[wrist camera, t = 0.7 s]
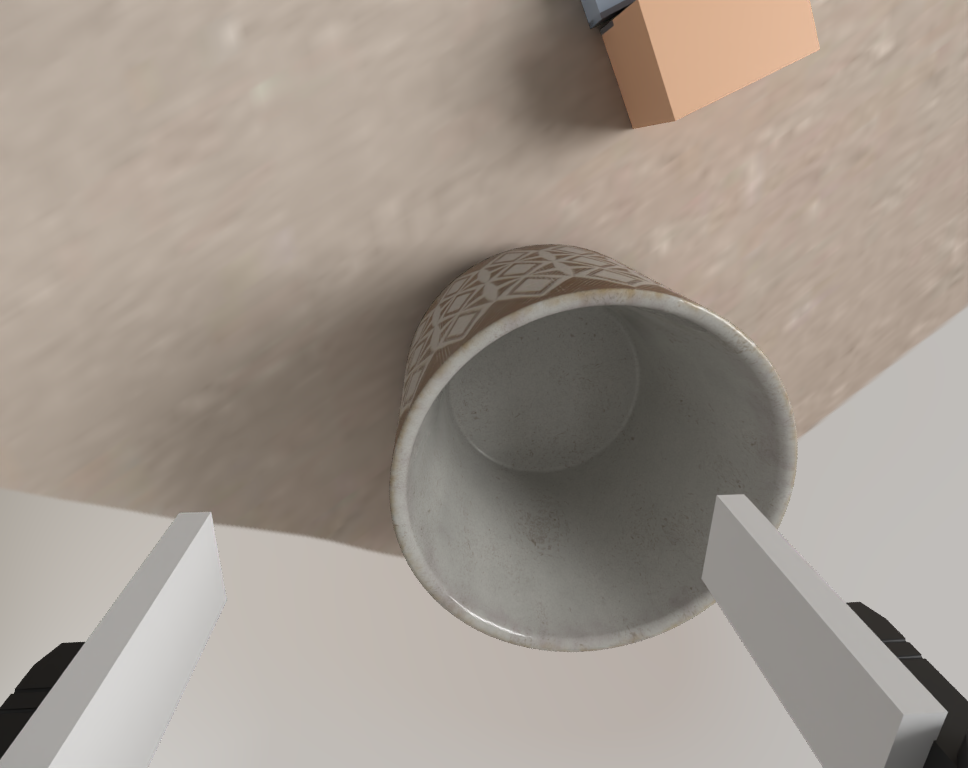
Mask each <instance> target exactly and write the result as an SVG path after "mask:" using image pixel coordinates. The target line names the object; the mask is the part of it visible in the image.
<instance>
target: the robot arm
mask: <svg viewBox="0 0 968 768" xmlns="http://www.w3.org/2000/svg"><path fill="white" fill-rule="evenodd" d="M701 579H702V580H703V582H704V583H705V585H706V586H707V588H708V590H709V591H710V593H711V594H712V596H713V597H714V599H715V600H716V602H717V603H718V605H719V607H720V608H721V610H722V611H723V613H724V614H725V616H726V617H727V619H728V621H729V622H730V624H731V625H732V627H733V628H734V630H735V631H736V633H737V635H738V636H739V638H740V639H741V641H742V642H743V643H744V645H745V647H746V649H747V650H748V652H749V653H750V655H751V656H752V658H753V659H754V661H755V663H756V664H757V666H758V667H759V669H760V670H761V672H762V673H763V675H764V676H765V678H766V680H767V681H768V683H769V684H770V686H771V687H772V689H773V690H774V692H775V694H776V695H777V697H778V698H779V700H780V701H781V703H782V704H783V706H784V708H785V709H786V711H787V712H788V714H789V715H790V717H791V718H792V720H793V722H794V723H795V724H796V726H797V728H798V729H799V731H800V732H801V734H802V735H803V737H804V739H805V740H806V742H807V743H808V745H809V746H810V748H811V750H812V751H813V752H814V754H815V756H816V757H817V759H818V760H819V762H820V763H821V765H822V767H823V768H968V701H967V700H966V699H965V698H964V697H963V696H962V695H961V694H960V693H959V692H958V691H957V690H956V689H955V688H954V687H953V686H952V685H951V684H950V683H949V682H948V681H947V680H946V679H945V678H944V677H943V676H942V675H941V674H940V673H939V672H938V671H937V670H936V669H935V668H934V667H933V666H932V665H931V664H930V663H929V662H928V661H927V660H926V659H923V658H922V656H921V654H920V653H919V652H918V651H917V650H916V649H915V648H914V647H913V646H912V645H911V644H910V643H909V642H906V641H905V638H904V637H903V635H902V634H900V632H899V631H897V629H896V628H894V626H893V625H892V624H890V622H889V621H888V620H886V618H884V617H882V616H881V615H879V614H878V613H876V612H874V611H873V610H871V609H870V608H869V607H867V606H865V605H864V604H862V603H861V602H851V603H845V602H844V601H843V600H842V598H841V597H840V596H839V595H838V594H837V593H836V592H835V591H834V590H833V589H832V588H831V587H830V586H829V584H828V583H826V581H825V580H824V579H823V578H822V577H821V576H820V575H819V574H818V573H817V572H816V571H815V570H814V568H813V567H812V566H811V565H810V564H809V563H808V562H807V561H806V560H805V559H804V558H803V557H802V556H801V555H800V553H799V552H798V551H797V550H796V549H795V548H794V547H793V546H792V545H791V544H790V543H789V542H788V541H787V540H786V539H785V538H784V536H783V535H782V534H781V533H780V532H779V531H778V530H777V529H776V528H775V527H774V526H773V525H772V524H771V523H770V521H769V520H768V519H767V518H766V517H765V516H764V515H763V514H762V513H761V512H760V511H759V510H758V509H757V508H756V506H755V505H754V504H753V503H752V502H751V501H750V500H749V499H748V498H747V497H746V496H745V495H744V494H736V495H717V496H716V502H715V507H714V512H713V518H712V523H711V529H710V534H709V540H708V545H707V551H706V556H705V562H704V567H703V573H702V578H701ZM226 601H227V597H226V591H225V586H224V580H223V575H222V569H221V563H220V558H219V552H218V547H217V541H216V536H215V530H214V525H213V519H212V514H211V512H187V513H179V514H178V515H177V517H176V518H175V519H174V521H173V522H172V524H171V525H170V526H169V528H168V529H167V530H166V532H165V533H164V535H163V536H162V537H161V539H160V540H159V541H158V543H157V544H156V546H155V547H154V548H153V550H152V551H151V553H150V554H149V555H148V557H147V558H146V559H145V561H144V562H143V564H142V565H141V566H140V568H139V569H138V571H137V572H136V573H135V575H134V576H133V577H132V579H131V580H130V581H129V583H128V584H127V586H126V587H125V588H124V590H123V591H122V593H121V594H120V595H119V597H118V598H117V600H116V601H115V602H114V604H113V605H112V606H111V608H110V609H109V610H108V612H107V613H106V615H105V616H104V618H103V619H102V621H100V623H99V624H98V626H97V627H96V628H95V630H94V631H93V633H92V634H91V635H90V637H89V638H88V639H87V641H86V642H73V643H61V644H60V645H59V646H58V647H56V648H55V649H54V650H52V652H50V653H49V654H47V655H46V656H45V657H43V658H42V659H41V660H40V661H38V662H37V663H36V664H35V665H34V666H33V667H32V668H31V669H30V671H29V672H28V673H27V675H26V676H25V677H24V678H23V679H22V681H21V682H20V684H19V685H18V686H17V687H16V688H15V692H14V694H11V695H10V696H9V697H8V698H7V700H6V701H5V702H4V704H3V705H2V706H1V707H0V768H148V766H149V764H150V762H151V760H152V758H153V756H154V754H155V752H156V749H157V747H158V745H159V743H160V741H161V739H162V737H163V735H164V733H165V730H166V728H167V726H168V724H169V722H170V720H171V718H172V716H173V714H174V711H175V709H176V707H177V705H178V703H179V701H180V699H181V697H182V694H183V692H184V690H185V688H186V686H187V684H188V682H189V679H190V677H191V675H192V673H193V671H194V669H195V667H196V665H197V663H198V661H199V658H200V656H201V654H202V652H203V650H204V648H205V646H206V644H207V641H208V639H209V637H210V635H211V633H212V630H213V628H214V627H215V624H216V622H217V620H218V618H219V616H220V614H221V612H222V609H223V608H224V605H225V603H226Z"/></svg>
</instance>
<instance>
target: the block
mask: <svg viewBox="0 0 968 768" xmlns="http://www.w3.org/2000/svg"><path fill="white" fill-rule="evenodd" d="M600 32H601V35H602V38H603V41H604V44H605V47H606V50H607V53H608V56H609V59H610V62H611V65H612V68H613V71H614V74H615V77H616V80H617V83H618V86H619V89H620V92H621V94H622V97H623V100H624V103H625V106H626V109H627V112H628V115H629V118H630V121H631V124H632V127H633V129H635V128H640V127H645V126H651V125H656V124H661V123H666V122H672V121H676V120H678V119H680V118H682V117H684V116H686V115H688V114H690V113H692V112H694V111H696V110H698V109H700V108H702V107H704V106H706V105H708V104H710V103H713V102H715V101H717V100H719V99H721V98H723V97H725V96H727V95H729V94H731V93H733V92H735V91H737V90H739V89H741V88H743V87H745V86H747V85H749V84H751V83H753V82H755V81H757V80H759V79H761V78H763V77H765V76H767V75H769V74H771V73H773V72H775V71H777V70H779V69H781V68H783V67H786V66H788V65H790V64H792V63H794V62H796V61H798V60H800V59H802V58H804V57H806V56H808V55H810V54H812V53H814V52H816V51H818V50H820V46H819V42H818V37H817V32H816V27H815V23H814V18H813V13H812V8H811V4H810V0H636V1H635V2H633V3H632V4H631V5H630V6H629V7H627V8H626V9H625V10H624V11H623V12H621V13H620V14H619V15H618V16H616V17H615V18H614V19H613V20H612V21H610V22H609V23H608V24H607V25H606V26H604V27H603V28H602V29H601V30H600Z"/></svg>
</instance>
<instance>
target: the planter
mask: <svg viewBox="0 0 968 768" xmlns="http://www.w3.org/2000/svg"><path fill="white" fill-rule="evenodd" d="M796 465H797V433H796V425H795V419H794V414H793V411H792V407H791V403H790V400H789V398H788V395H787V392H786V390H785V387H784V385H783V383H782V381H781V379H780V377H779V375H778V374H777V372H776V370H775V369H774V367H773V365H772V364H771V362H770V361H769V360H768V358H767V357H766V356H765V354H764V353H763V352H762V351H761V349H760V348H759V347H758V346H757V345H756V344H755V343H754V342H753V341H752V340H751V339H750V338H749V337H748V336H747V335H746V334H745V333H743V332H742V331H741V330H740V329H739V328H737V327H736V326H735V325H733V324H732V323H731V322H729V321H728V320H726V319H725V318H723V317H721V316H720V315H718V314H716V313H715V312H713V311H711V310H709V309H707V308H705V307H703V306H701V305H700V304H698V303H696V302H694V301H692V300H690V299H688V298H686V297H684V296H682V295H680V294H679V293H677V292H675V291H673V290H671V289H669V288H667V287H665V286H663V285H661V284H660V283H658V282H656V281H654V280H652V279H650V278H648V277H646V276H644V275H642V274H640V273H639V272H637V271H635V270H633V269H631V268H629V267H627V266H625V265H623V264H621V263H619V262H618V261H616V260H614V259H612V258H609V257H607V256H605V255H603V254H600V253H598V252H595V251H591V250H588V249H585V248H580V247H575V246H567V245H553V244H549V245H534V246H526V247H522V248H517V249H513V250H510V251H506V252H503V253H500V254H498V255H495V256H493V257H490V258H488V259H486V260H484V261H482V262H480V263H478V264H477V265H475V266H473V267H472V268H470V269H469V270H467V271H466V272H464V273H463V274H461V275H460V276H459V277H458V278H456V279H455V280H454V281H453V282H452V283H451V284H450V285H448V286H447V287H446V288H445V289H444V290H443V291H442V293H441V294H440V295H439V296H438V297H437V298H436V299H435V301H434V302H433V303H432V305H431V306H430V307H429V309H428V310H427V312H426V314H425V315H424V317H423V319H422V320H421V322H420V324H419V326H418V328H417V330H416V333H415V335H414V338H413V340H412V343H411V346H410V350H409V354H408V359H407V364H406V371H405V377H404V384H403V391H402V398H401V404H400V411H399V418H398V425H397V431H396V438H395V445H394V452H393V458H392V465H391V473H390V507H391V516H392V521H393V526H394V530H395V533H396V536H397V540H398V543H399V545H400V548H401V550H402V553H403V555H404V557H405V559H406V561H407V563H408V565H409V567H410V568H411V570H412V571H413V573H414V575H415V576H416V578H417V579H418V580H419V582H420V583H421V584H422V585H423V587H424V588H425V589H426V590H427V591H428V593H429V594H430V595H431V596H432V597H433V598H434V599H435V600H436V601H437V602H438V603H439V604H440V605H441V606H442V607H444V608H445V609H446V610H447V611H449V612H450V613H451V614H452V615H454V616H455V617H457V618H458V619H460V620H461V621H463V622H464V623H466V624H467V625H469V626H471V627H473V628H474V629H476V630H478V631H480V632H482V633H484V634H487V635H489V636H491V637H494V638H496V639H499V640H502V641H505V642H508V643H511V644H515V645H519V646H523V647H527V648H533V649H539V650H547V651H560V652H583V651H593V650H602V649H609V648H615V647H619V646H624V645H628V644H632V643H636V642H639V641H642V640H645V639H648V638H651V637H654V636H656V635H659V634H661V633H664V632H666V631H668V630H670V629H673V628H675V627H677V626H679V625H681V624H683V623H684V622H686V621H688V620H690V619H692V618H693V617H695V616H697V615H698V614H699V613H701V612H703V611H704V610H706V609H707V608H709V607H710V606H711V605H713V604H714V603H715V602H716V600H715V599H714V597H713V596H712V594H711V593H710V591H709V590H708V588H707V586H706V585H705V583H704V582H703V580H702V579H701V578H702V573H703V567H704V562H705V556H706V551H707V545H708V540H709V534H710V529H711V523H712V518H713V512H714V507H715V502H716V496H717V495H736V494H744V495H745V496H746V497H747V498H748V499H749V500H750V501H751V502H752V503H753V504H754V505H755V506H756V508H757V509H758V510H759V511H760V512H761V513H762V514H763V515H764V516H765V517H766V518H767V519H768V520H769V521H770V523H771V524H772V525H773V526H774V527H775V528H776V529H778V527H779V526H780V523H781V521H782V519H783V516H784V514H785V512H786V509H787V506H788V503H789V500H790V496H791V493H792V489H793V485H794V479H795V474H796Z"/></svg>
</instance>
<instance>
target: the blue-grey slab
mask: <svg viewBox="0 0 968 768" xmlns="http://www.w3.org/2000/svg"><path fill="white" fill-rule="evenodd" d="M635 1H636V0H581V2H582V5H583V8H584V11H585V14H586V17H587V20H588V23H589V26H590V29H591V28H593V27H595V26H597V25H599V24H601V23H603V22H605V21H607V20H609V19H611V18H613V17H615V16H617V15H618V14H620V13H621V12H623V11H624V10H625V9H626V8H627V7H629V6H630V5H631V4H632V3H633V2H635Z"/></svg>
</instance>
